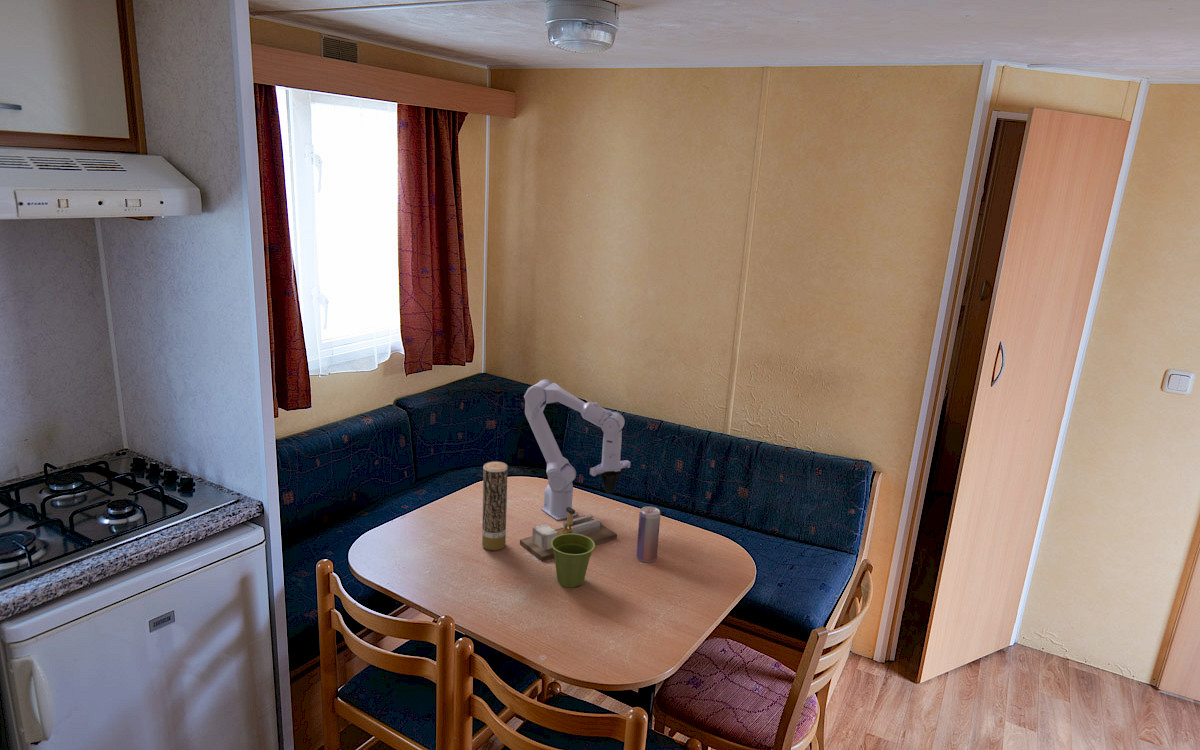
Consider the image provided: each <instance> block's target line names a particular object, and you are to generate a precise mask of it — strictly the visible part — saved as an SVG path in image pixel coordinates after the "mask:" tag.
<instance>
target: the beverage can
mask: <svg viewBox="0 0 1200 750" xmlns="http://www.w3.org/2000/svg"><path fill="white" fill-rule="evenodd" d="M638 516H639V517H638V527H637V528H638V530H637V543H636V555H635V556H636V558H637V559H638V561H641V562H642V563H653V562H654V561H656V559H657V558H658V551H659V538H660V537H659V535H660V523H661V510H660V509H659V508H657V507H654V506H651V505H650V506H643V507H642V508H640V511H639V515H638Z"/></svg>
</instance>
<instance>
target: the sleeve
mask: <svg viewBox="0 0 1200 750" xmlns="http://www.w3.org/2000/svg"><path fill="white" fill-rule="evenodd" d="M592 519H594V520H592ZM600 523H601V520H600V519H598V518H596V519H595V518H594V515H592V514H587V515H584V516H579V517H576V518H573V526H571V533H574V534H581V535H584V536H589V535H592V534H596V533H599V529H600ZM563 527H564V528H567V520H566V521H563Z"/></svg>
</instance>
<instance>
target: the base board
mask: <svg viewBox="0 0 1200 750" xmlns="http://www.w3.org/2000/svg"><path fill="white" fill-rule="evenodd" d="M592 520H595V518H592ZM561 529H564V526H563V527H560V528H557V529H554V530H555V531H557V530H561ZM617 536H618V534H617V533H616V532H615V531H613V530H611V529H610V528H608V527H606V526H605V525H604V524H602V523H601V522H600V529H599V533H596V534H592V535H589V536H587V537H589V538H591V539H592V540H593V541H594V543H595V546H598V545H600V544H604V543H607V542H609V541H613V540H616V539H617ZM519 545H520V546H521V547H523V548H524V549H525V550H527V551H528V552H529V553H530V554H532V555H533V556H534V557H535V558H536V559H538V560H539V561H540V560H541V561H540V562H545V561H547V560H551V559H555V555H554V552H553V548H551V549H547V550H543V549H542V548H540V547H539V546H538V545H536V544H535V543H534V542H532V535H531V536H528V537H524V538H521V539H519Z"/></svg>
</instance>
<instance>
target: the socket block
mask: <svg viewBox="0 0 1200 750" xmlns="http://www.w3.org/2000/svg"><path fill="white" fill-rule="evenodd" d="M555 530H556V529H553V528H552V527H551V526H549V525H548V524H547V523H544V524H540V525H536V526H533V527H532V534H531V536H532V542H534V543H535V544H536V545H538V546H539V547H540V548H542V549H543V550H547V549H551V548H552V546H551V541H552V539H553V538H554V537H556V536H558V532H556V531H555Z"/></svg>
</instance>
